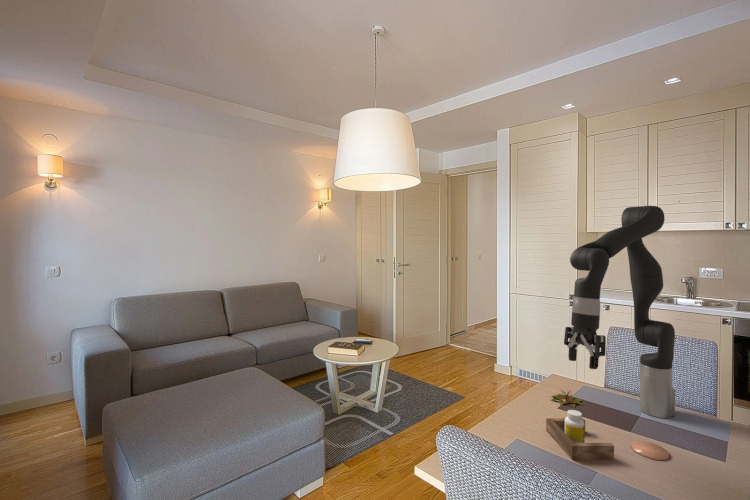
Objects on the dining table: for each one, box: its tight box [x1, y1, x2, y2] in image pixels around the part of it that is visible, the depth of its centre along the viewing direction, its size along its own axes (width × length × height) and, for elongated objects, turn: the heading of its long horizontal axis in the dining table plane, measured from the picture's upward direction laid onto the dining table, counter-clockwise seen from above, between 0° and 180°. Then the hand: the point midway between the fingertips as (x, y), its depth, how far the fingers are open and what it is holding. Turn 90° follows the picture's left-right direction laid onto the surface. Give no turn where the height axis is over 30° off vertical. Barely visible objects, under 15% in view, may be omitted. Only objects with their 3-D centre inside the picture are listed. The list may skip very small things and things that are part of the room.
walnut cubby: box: [545, 417, 615, 461], centre depth 112 cm, size 12×16×4 cm
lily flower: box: [550, 388, 583, 409], centre depth 141 cm, size 12×12×5 cm
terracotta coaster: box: [630, 440, 670, 461], centre depth 107 cm, size 9×9×1 cm
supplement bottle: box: [564, 409, 586, 443], centre depth 111 cm, size 5×5×10 cm
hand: (582, 364), depth 112 cm, fingers open, 8 cm apart
